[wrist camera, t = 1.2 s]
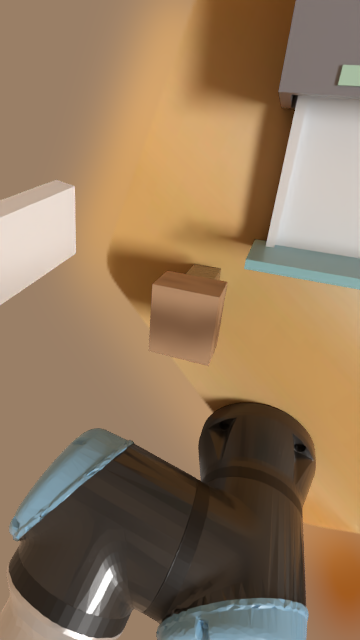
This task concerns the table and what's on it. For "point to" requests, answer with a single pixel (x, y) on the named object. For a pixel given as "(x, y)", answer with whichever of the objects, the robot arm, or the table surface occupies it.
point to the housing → (322, 51)
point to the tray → (317, 198)
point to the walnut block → (186, 316)
